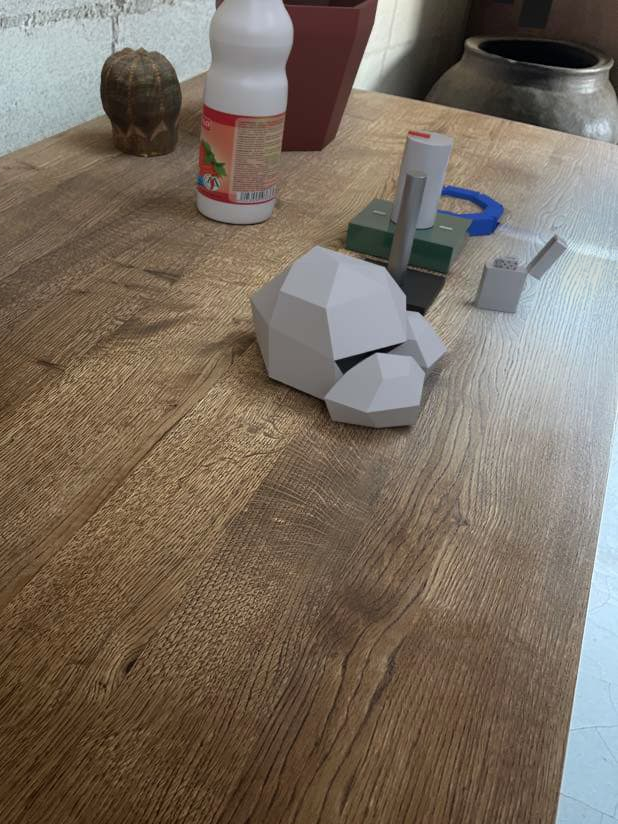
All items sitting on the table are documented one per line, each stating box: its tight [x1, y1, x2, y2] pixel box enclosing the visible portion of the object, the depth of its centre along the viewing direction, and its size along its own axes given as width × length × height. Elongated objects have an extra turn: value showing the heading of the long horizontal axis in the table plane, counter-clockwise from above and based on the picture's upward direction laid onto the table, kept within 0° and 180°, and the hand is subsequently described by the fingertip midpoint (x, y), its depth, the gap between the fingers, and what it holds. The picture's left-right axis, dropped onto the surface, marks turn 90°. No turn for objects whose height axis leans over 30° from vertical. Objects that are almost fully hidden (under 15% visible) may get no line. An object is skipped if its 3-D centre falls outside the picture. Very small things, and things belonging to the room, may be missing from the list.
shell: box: [99, 46, 183, 158], centre depth 124 cm, size 11×11×12 cm
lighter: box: [473, 234, 569, 314], centre depth 93 cm, size 7×2×8 cm, turn 80°
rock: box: [249, 245, 449, 429], centre depth 78 cm, size 18×20×10 cm
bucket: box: [214, 0, 379, 152], centre depth 129 cm, size 24×22×25 cm
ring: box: [437, 184, 505, 237], centre depth 115 cm, size 12×12×2 cm
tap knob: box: [391, 129, 455, 229], centre depth 102 cm, size 5×5×9 cm
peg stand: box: [362, 170, 447, 317], centre depth 93 cm, size 9×9×12 cm
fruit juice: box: [195, 0, 294, 225], centre depth 102 cm, size 9×9×28 cm
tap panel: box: [344, 197, 473, 274], centre depth 105 cm, size 12×10×3 cm
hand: (514, 14), depth 96 cm, fingers open, 13 cm apart
